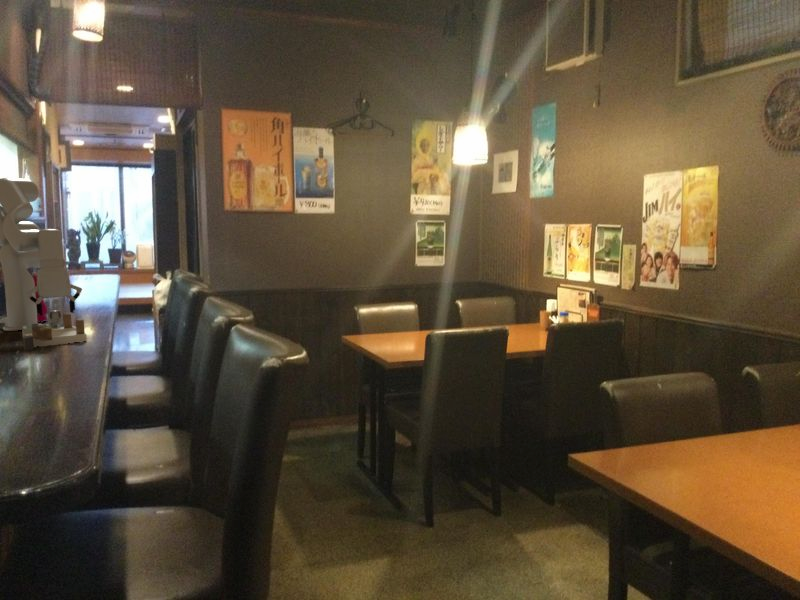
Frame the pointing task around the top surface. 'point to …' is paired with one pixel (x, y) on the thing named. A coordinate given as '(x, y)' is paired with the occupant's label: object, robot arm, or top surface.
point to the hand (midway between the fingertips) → (56, 313)
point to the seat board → (56, 334)
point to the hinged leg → (42, 333)
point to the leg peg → (55, 318)
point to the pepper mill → (44, 308)
